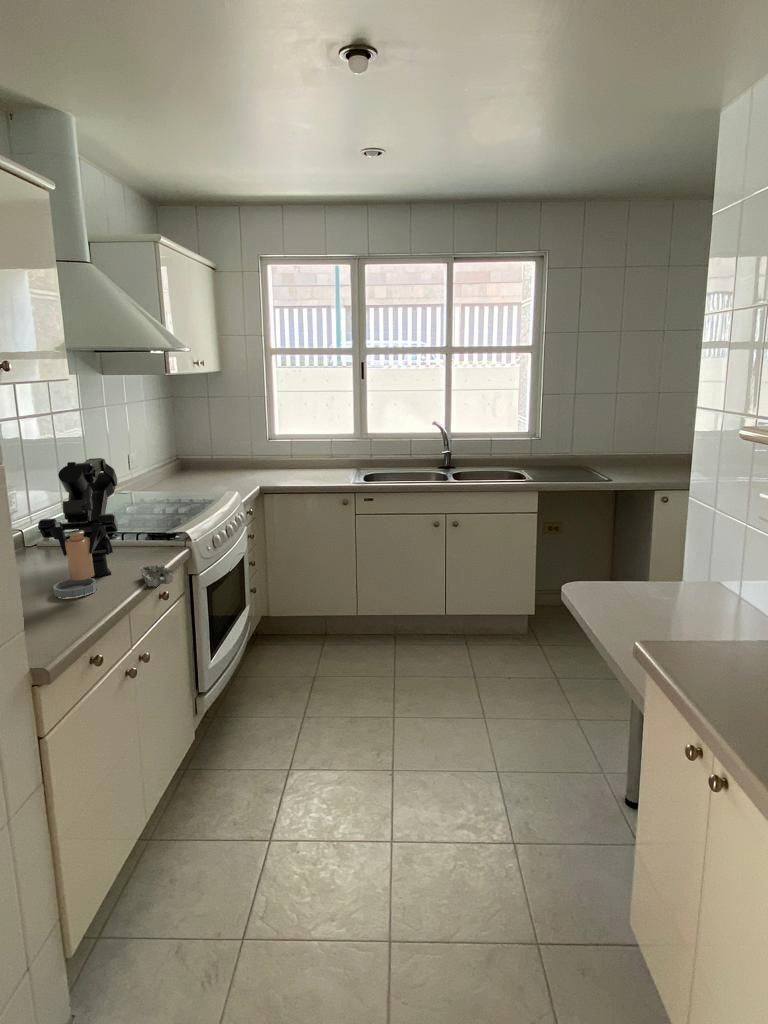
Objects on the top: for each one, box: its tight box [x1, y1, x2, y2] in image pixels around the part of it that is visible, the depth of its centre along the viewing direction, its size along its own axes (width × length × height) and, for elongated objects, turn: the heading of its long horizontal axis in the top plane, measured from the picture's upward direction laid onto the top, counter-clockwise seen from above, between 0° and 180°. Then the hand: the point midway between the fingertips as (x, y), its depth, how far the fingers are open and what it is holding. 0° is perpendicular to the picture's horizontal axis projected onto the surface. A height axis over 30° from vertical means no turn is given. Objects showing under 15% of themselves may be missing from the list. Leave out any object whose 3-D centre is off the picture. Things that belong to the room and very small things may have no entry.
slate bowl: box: [52, 577, 98, 598], centre depth 183 cm, size 10×10×2 cm
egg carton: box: [139, 564, 174, 588], centre depth 191 cm, size 11×8×4 cm
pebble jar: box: [65, 529, 95, 580], centre depth 177 cm, size 6×6×12 cm
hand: (77, 554), depth 175 cm, fingers closed on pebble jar, 6 cm apart
